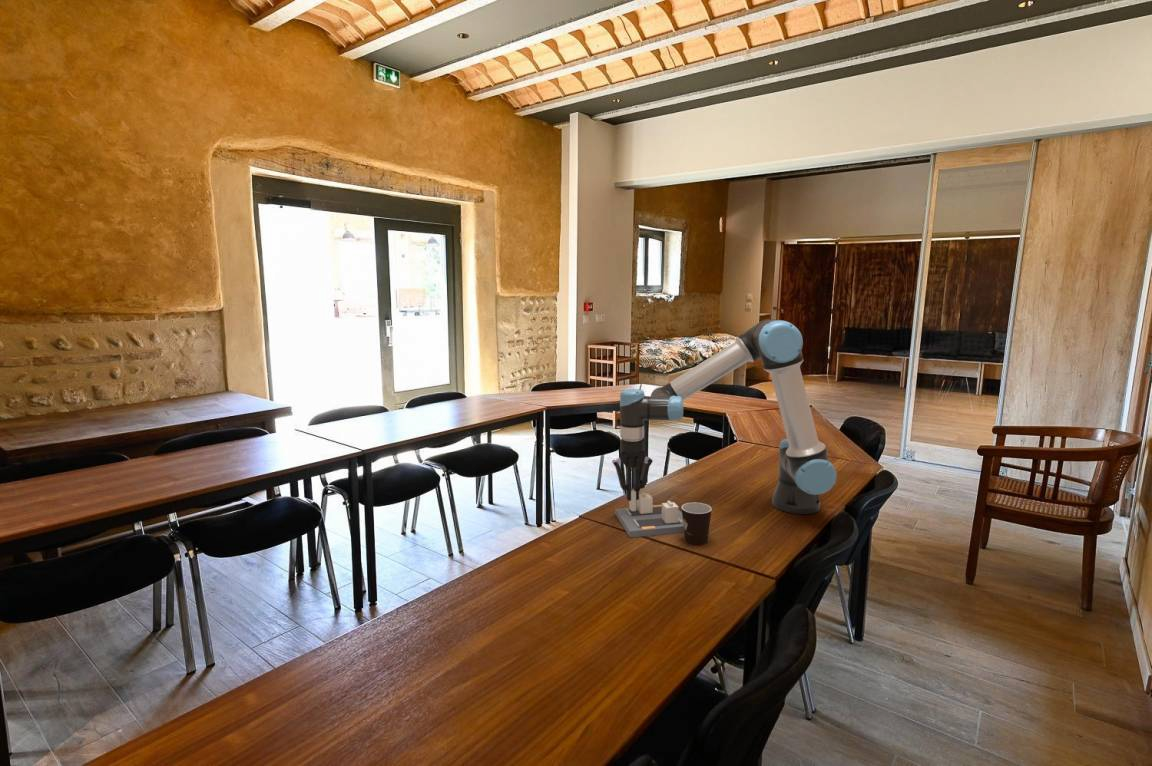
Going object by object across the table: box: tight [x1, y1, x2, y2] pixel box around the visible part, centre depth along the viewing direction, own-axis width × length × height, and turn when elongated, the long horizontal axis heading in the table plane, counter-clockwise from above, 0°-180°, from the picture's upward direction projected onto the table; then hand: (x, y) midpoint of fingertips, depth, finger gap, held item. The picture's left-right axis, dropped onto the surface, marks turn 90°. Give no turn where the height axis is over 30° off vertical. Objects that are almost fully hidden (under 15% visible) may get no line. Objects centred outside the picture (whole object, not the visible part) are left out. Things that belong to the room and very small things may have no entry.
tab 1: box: [636, 491, 654, 514], centre depth 182 cm, size 4×4×6 cm
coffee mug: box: [681, 501, 713, 546], centre depth 166 cm, size 12×9×10 cm
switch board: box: [614, 503, 684, 539], centre depth 179 cm, size 20×18×3 cm
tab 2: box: [661, 500, 680, 523], centre depth 174 cm, size 4×4×6 cm
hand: (632, 509), depth 182 cm, fingers closed
